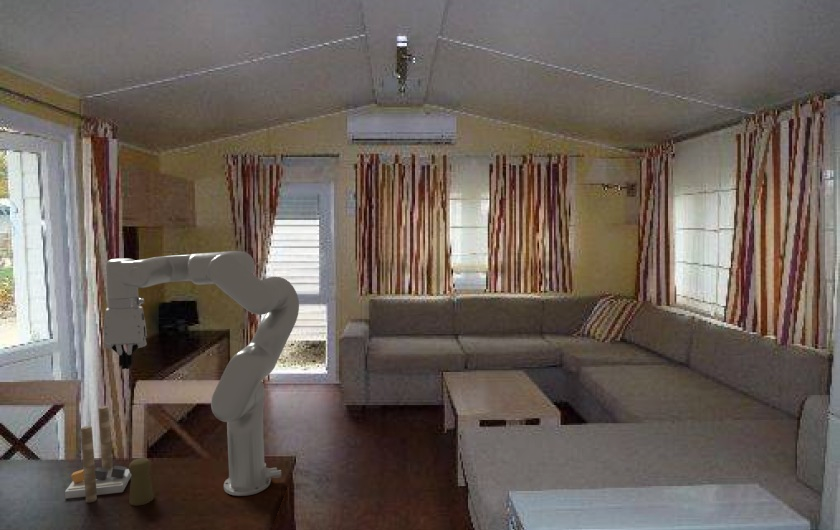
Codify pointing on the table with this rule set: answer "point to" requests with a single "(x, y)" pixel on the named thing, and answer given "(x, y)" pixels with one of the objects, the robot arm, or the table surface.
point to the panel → (100, 486)
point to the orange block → (78, 476)
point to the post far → (105, 437)
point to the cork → (140, 482)
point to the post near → (88, 464)
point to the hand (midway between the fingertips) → (126, 367)
